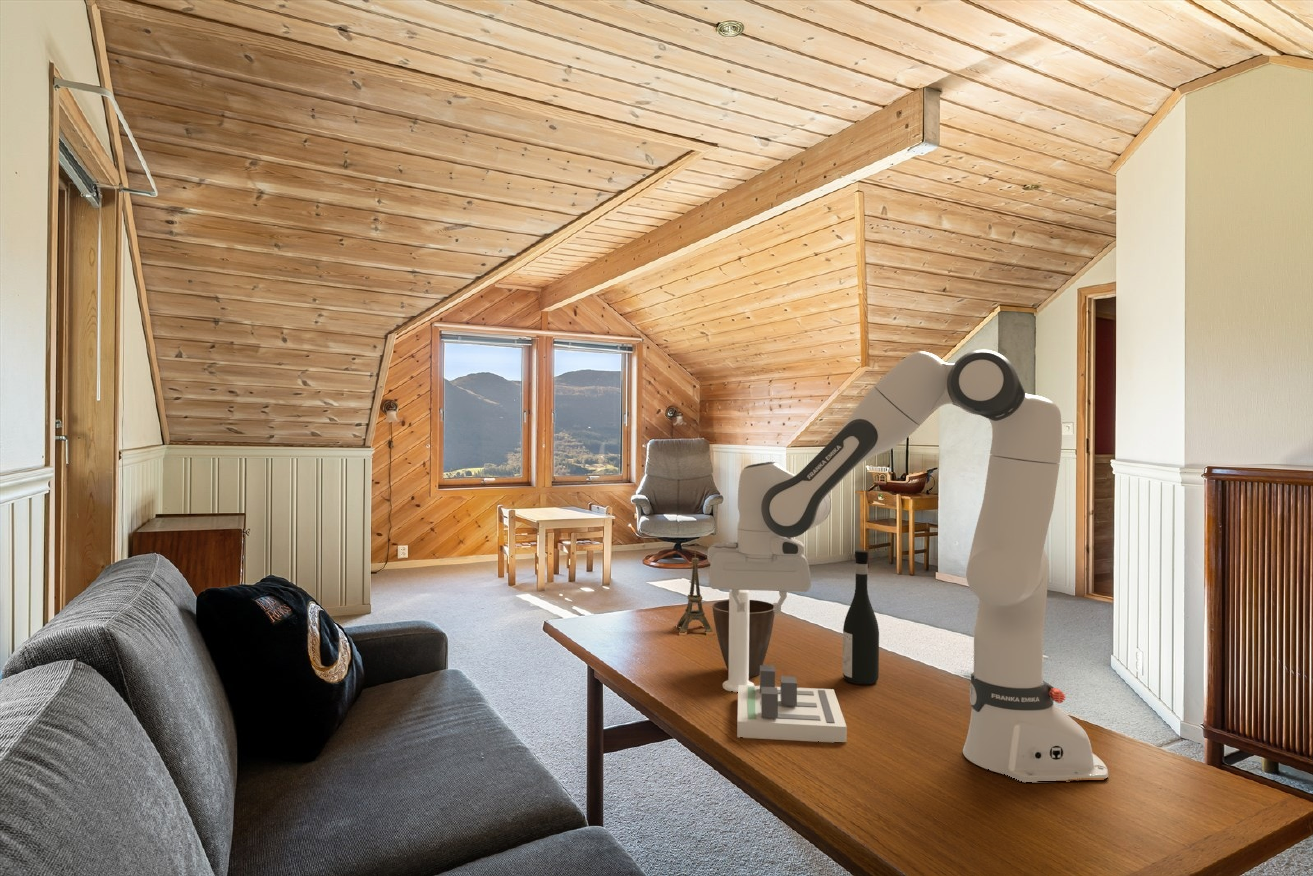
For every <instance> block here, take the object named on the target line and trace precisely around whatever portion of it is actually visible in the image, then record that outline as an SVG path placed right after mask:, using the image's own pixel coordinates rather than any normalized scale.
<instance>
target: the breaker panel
mask: <svg viewBox="0 0 1313 876" xmlns="http://www.w3.org/2000/svg"><path fill="white" fill-rule="evenodd" d="M776 687H777V691H778V718H773V717H762V715H761V692H760V685H754V686H749V685H738V693H737V729H736V732H737V733H736V734H737V735H736V737H737V738H740V737H743V739H763V740H781V741H782V740H783V741H800V742H818V741H819V742H820V743H834V742H847V739H848V738H847V737H848V735H847V734H848V730H847V729H848V726H847V724H846V723H847V722H846V721H845V717H844V715H843V712H842V709H841V707H840V704H839V701H838V698H837V695H836V693H835V688H834V689H833V688H832V689H831V688H813V687H811V688H810V687H797V706H792V705H781V699H780V687H781V686H776ZM819 742H818V743H819ZM847 743H848V742H847Z"/></svg>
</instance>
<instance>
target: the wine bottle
mask: <svg viewBox="0 0 1313 876" xmlns="http://www.w3.org/2000/svg"><path fill="white" fill-rule="evenodd" d="M854 558H855V589H854V594H853V598H852V600H851V604H850V606H849V608H848V611H847V613H846V616H845V618H844V622H843V628H842V629H843V630H842V676H843V678H844V680H845V681H847V682H849V683H852V684H854V685H855V684H856V685H862V686H864V685H872V684H874V683H877V682H878V680H879V674H880V673H879V670H880V666H879V665H880V658H879V657H880V653H879V652H880V651H879V650H880V629H879V624H878V620H877V616H876V615H875V612H874V608H873V605H872V604H871V601H870V597H869V593H868V592H869V590H868V568H869V567H868V563H869V562H868V561H869V560H868V559H869V551H867V550H864V549H860V550H859V549H857V550H855V551H854Z"/></svg>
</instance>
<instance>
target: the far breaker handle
mask: <svg viewBox="0 0 1313 876" xmlns="http://www.w3.org/2000/svg"><path fill="white" fill-rule="evenodd" d="M759 686H760V692H761V687H776V667H775V665H767V664H766V665H765V664H763V665H760V673H759Z"/></svg>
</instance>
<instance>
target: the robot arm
mask: <svg viewBox="0 0 1313 876" xmlns="http://www.w3.org/2000/svg"><path fill="white" fill-rule="evenodd" d="M949 404H952V405H954V406H956V407H958V408H959V409H962V410H963V411H964V412H967V413H969V414H971V415H975V416H976V415H977V416H981V417H984V418H985V419H988V420H989V421H990V424H991V428H992V429H991V430H992V434H991V435H992V437H991V444H990V445H991V446H990V450H989V459H988V466H987V471H986V472H987V473H986V479H985V480H986V481H985V486H984V492H983V493H984V494H983V499H982V504H981V507H980V511H979V515H978V519H977V523H976V526H975V529H974V534H973V539H972V544H971V549H970V552H969V558H968V562H967V565H966V574H965V575H966V582H967V584H968V587H969V589H970V591H971V593H973V594H974V596H975V597H976V598H978V599H979V600H978V606H977V613H976V619H975V625H974V628H973V672H972V673H971V675H970V682H969V683H970V684H969V702H970V707H971V713H970V721H969V726H968V731H967V736H966V739H965V743H964V746H963V749H962V754H963V756H964V757H965V758H966V759H967V760H968V761H969V762H971V763H973V764H974V765H977V766H979V767H981V768H982V769H985V770H988V769H989V771H990V772H995V773H998V774H1002V775H1004V774H1005V776H1007V775H1008V776H1007V777H1009V776H1010V777H1009V778H1011V777H1012V779H1013V778H1015V779H1014V780H1016V779H1017V780H1016V781H1018V780H1019V781H1018V782H1021V781H1022V783H1026V782H1032V783H1038V782H1037V781H1056V780H1068V779H1077V778H1078V779H1079V778H1080V779H1081V778H1107V777H1108V778H1109V770H1108V767H1107V765H1106V764H1105V763H1104V762H1103V761H1102V759H1100V758H1099V757H1098V755H1096V754H1094V753H1093V749H1092V744H1091V741H1090V738H1089V736H1088V734H1087V731H1086V730H1084V728H1083V727H1082V726H1081V725H1080V724H1078V722H1076V721H1075V720H1074V718H1072V717H1070V716H1069V714H1067V713H1066V712H1065V711H1063V710H1062V709H1061V708H1059V707H1058V706H1057V705H1056V704H1055V703H1054V702H1056V703H1058V704H1062V703H1064V701H1066V694H1065V693H1064V691H1061V689H1059V688H1057V687H1054V686H1053V685H1052V684H1049V683H1048V682H1046V681H1045V680H1043V677H1044V676H1043V674H1044V672H1043V670H1044V668H1043V666H1044V665H1043V664H1044V631H1045V622H1046V621H1045V620H1046V612H1047V611H1046V609H1047V596H1048V583H1049V582H1048V581H1049V560H1048V556H1047V554H1046V552H1045V550H1044V548H1045V544H1046V540H1047V535H1048V530H1049V525H1050V521H1051V517H1052V514H1053V511H1054V505H1055V499H1056V491H1057V484H1058V477H1059V473H1060V472H1059V471H1060V463H1061V454H1062V444H1063V441H1062V440H1063V435H1062V434H1063V430H1062V429H1063V428H1062V425H1063V424H1062V414H1061V410H1060V407H1058V405H1057V403H1055V402H1054V401H1052V400H1050V399H1049V398H1047V397H1044V396H1041V395H1036V394H1029V393H1026V391H1025V389H1024V386H1023V385H1022V383H1021V380H1020V378H1019V376H1018V373H1017V371H1016V369H1015V367H1014V366H1013V363H1012V362H1010V360H1009V359H1008V358H1007V357H1005V356H1004V355H1003V354H1001V353H999V352H996V351H995V350H990V349H977V350H973V351H972V350H971V351H970V352H967V353H965V354H964V355H962V356H960V358H958V359H957V360H956V361H955V363H954V362H953V363H950V362H949V363H948V362H946V361H944V360H943V359H942V358H940V357H939V356H938V355H935V354H933V353H931V352H928V351H923V350H922V351H921V350H919V351H915V352H912V353H910V354H909V355H908V356H906V357H905V358H903V359H902V360H901V361H900V362H898V363H897V364H895V365H894V366H893V367H891V369H890V370H889V371H888V372H886V373H885V374H884V375H883V376H882V377H881V378H880V379H879V380H878V381H877V382H876V383H875V384H874V385H873V386H872V388H870V390H869V391H868V392H867V393H866V394H865V396H864V397H863V398H862V399H861V400H860V402H859V403H858V404H857V405H856V407H855V409H854V410H853V411H852V413H851V414H850V415H849V417H848V418H847V420H846V421H845V422H844V424H843V425H842V426H841V428H840V429H839V430H838V432H837V433H836V434H835V436H834V437H833V438H832V439H830V441H829V442H828V443H827V444H826V445H825V446H824V447H823V448H822V449H821V451H820V452H818V453H817V454H816V455H815V456H814V457H813V458H812V460H810V461H809V462H808V464H806V466H804V468H802V469H801V470H800V472H798V473H797V474H795V473H792V472H791V471H789V470H788V469H785V468H784V467H783V466H782V465H781V464H779V463H778V462H776V461H766V462H760V463H753V464H749V465H747V466H744V468H743V469H742V470H741V472H740V475H739V481H738V486H737V487H738V489H737V510H738V513H739V514H738V515H739V517H738V523H737V527H736V528H737V529H736V531H737V532H736V533H737V535H736V536H737V537H736V539H737V542H721V541H719V542H715V543H713V544H712V545H710V546H709V547H708V548H707V550H706V551H707V553H706V554H707V557H706V558H707V561H708V564H710V565H709V566H710V567H709V573H708V586H709V587H710V589H712V590H729V591H730V590H732V596H733V598H734V600H735V601H736V603H737V612H745V602H740V600H739V598H738V596H737V595H739V590H749V591H767V592H769V591H770V592H778V595H779V600H778V601H777V602H774V603H772V604H773V613H775V614H779V615H780V614H781V613H782V605H783V603H784V602H785V600H786V599H787V595H788V592H794V593H795V592H798V593H800V592H801V593H805V592H806V593H807V592H808V591H809V590H810V589H811V586H812V581H811V580H812V579H811V570H810V565H809V561H808V559H807V557H806V556H805V555H804V553H805V545H804V543H803V542H802V541H801V540H799V539H796V538H797V537H799V536H801V535H803V534H805V533H806V532H807V531H808V530H811V529H813V528H815V527H817V526H819V525H820V524H822V523H824V522H825V521H826V519H827V518H828V516H829V515H830V512H831V509H832V502H831V501H832V499H831V496H830V494H829V493H830V492H832V491H833V489H835V488H836V486H838V485H839V484H840V483H841V482H842V481H843V479H844V478H845V477H846V476H848V474H849V473H850V472H851V471H853V469H855V468H856V467H857V466H859V465H860V464H862V463H864V462H866V461H868V460H869V459H871V458H873V457H876V456H878V455H880V454H883V453H886V452H888V451H890V450H892V449H893V448H895V447H897V446H898V445H899V444H901V443H902V442H904V441H905V440H906V439H907V438H909V437H910V436H911V435H912V434H913V433H914V432H915V431H917V430H918V428H920V426H921V425H922V424H924V423H925V422H926V420H927V419H928V418H930V416H931V415H932V414H933V413H934V412H935V411H937V410H938V409H939V408H941V407H942V406H945V405H949ZM795 537H796V538H795Z"/></svg>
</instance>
